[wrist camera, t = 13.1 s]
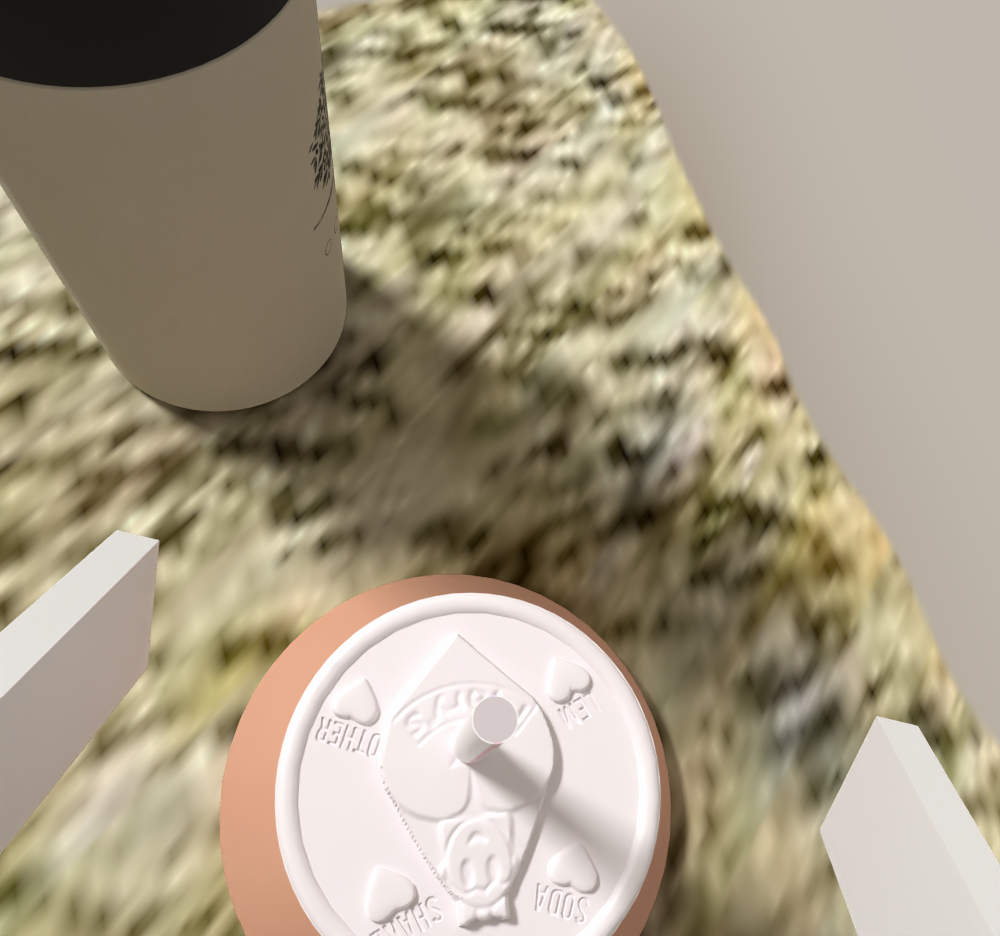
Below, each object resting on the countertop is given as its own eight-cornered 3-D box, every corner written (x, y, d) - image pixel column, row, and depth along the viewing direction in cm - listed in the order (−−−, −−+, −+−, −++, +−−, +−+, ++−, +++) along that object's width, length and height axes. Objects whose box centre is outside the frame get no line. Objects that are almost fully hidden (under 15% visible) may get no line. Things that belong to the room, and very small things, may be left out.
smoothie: (546, 660, 24) (709, 488, 11) (580, 910, 22) (834, 1051, 9) (318, 684, 23) (212, 526, 10) (328, 948, 21) (209, 1165, 8)
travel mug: (74, 403, 27) (-465, -282, 10) (130, 200, 30) (-211, -582, 13) (331, 428, 27) (224, -180, 11) (360, 226, 30) (311, -489, 14)
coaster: (161, 692, 24) (153, 688, 23) (537, 519, 27) (541, 510, 26) (333, 1159, 20) (330, 1171, 19) (743, 894, 23) (754, 897, 22)
